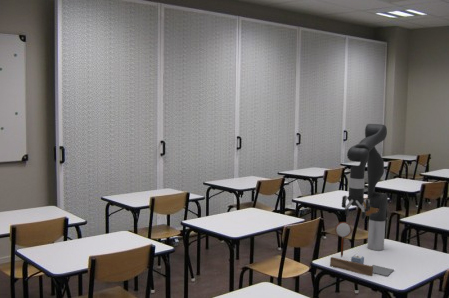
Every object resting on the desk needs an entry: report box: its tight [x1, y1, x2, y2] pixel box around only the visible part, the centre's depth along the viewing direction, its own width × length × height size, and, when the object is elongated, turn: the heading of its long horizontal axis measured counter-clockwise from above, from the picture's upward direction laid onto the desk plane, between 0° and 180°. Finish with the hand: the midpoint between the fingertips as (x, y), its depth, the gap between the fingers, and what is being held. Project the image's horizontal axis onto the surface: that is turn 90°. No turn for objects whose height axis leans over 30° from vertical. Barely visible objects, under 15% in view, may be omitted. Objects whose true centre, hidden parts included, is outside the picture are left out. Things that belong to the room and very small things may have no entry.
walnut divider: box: [329, 256, 374, 277], centre depth 251 cm, size 2×22×4 cm, turn 54°
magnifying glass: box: [334, 221, 352, 258], centre depth 271 cm, size 9×2×20 cm, turn 91°
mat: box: [371, 264, 395, 278], centre depth 251 cm, size 11×11×1 cm
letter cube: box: [350, 254, 365, 265], centre depth 258 cm, size 5×5×5 cm
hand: (355, 217), depth 254 cm, fingers open, 8 cm apart
